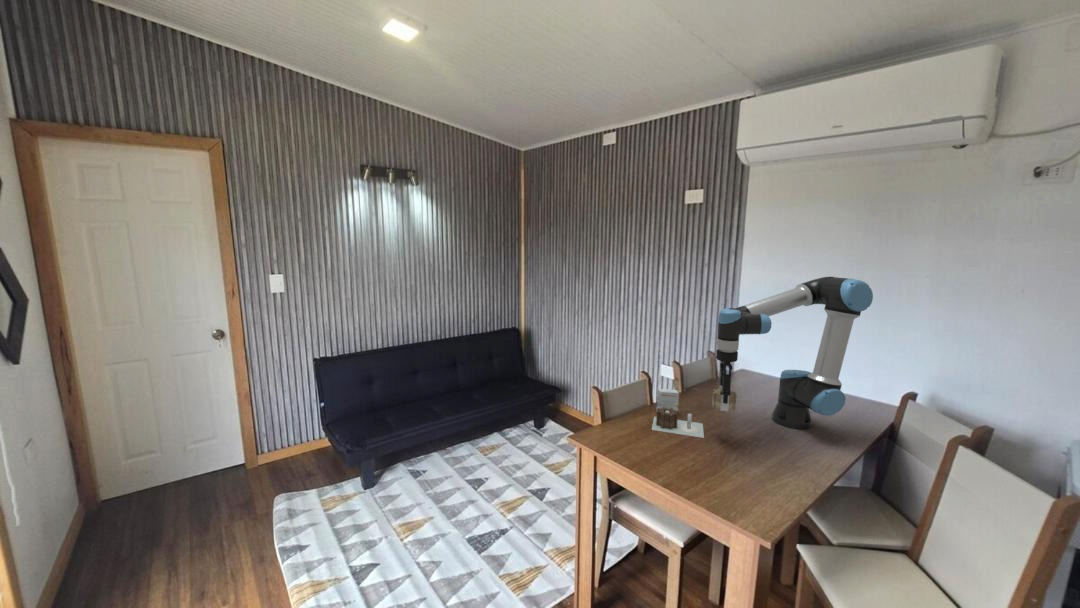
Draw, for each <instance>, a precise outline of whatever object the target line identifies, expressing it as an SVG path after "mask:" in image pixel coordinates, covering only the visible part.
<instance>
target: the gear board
mask: <svg viewBox="0 0 1080 608" xmlns="http://www.w3.org/2000/svg"><path fill="white" fill-rule="evenodd" d="M669 412H670V411H666V413H669ZM692 418H693V414H692V413H687V420H681V419H678V421H677V428H672V429H668V428H661V426H659V425H656V419H657V416H656V415H655V416H653V421H652V425H651V430H652V431H658V432H662V433H663V432H664V433H669V434H677V435H683V436H687V437H688V436H689V437H696V438H703V439H704V438H705V435H704V425H703V423H702V422H701V423H700V422H697V421H696V422H695V421H692Z"/></svg>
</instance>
